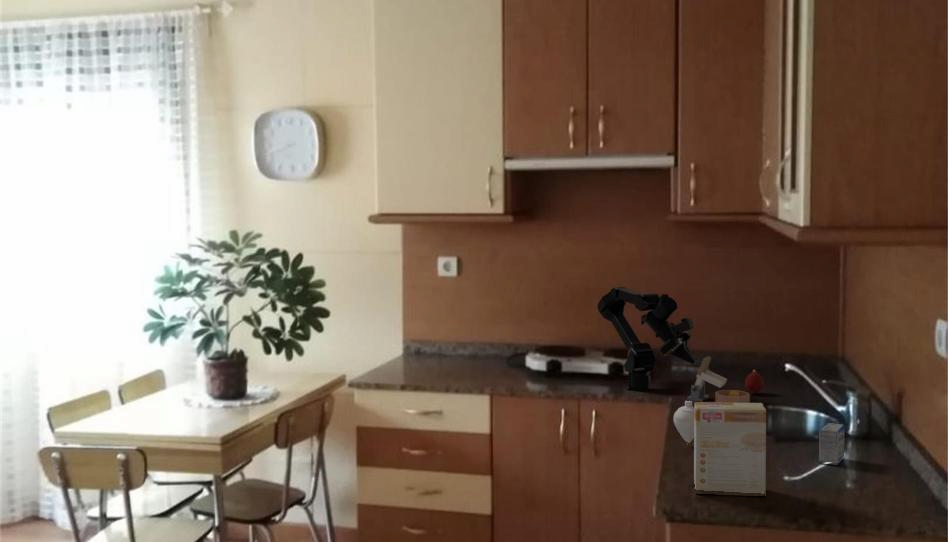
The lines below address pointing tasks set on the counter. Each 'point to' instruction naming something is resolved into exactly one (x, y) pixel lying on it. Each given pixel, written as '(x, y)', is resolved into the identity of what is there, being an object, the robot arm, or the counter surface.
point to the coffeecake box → (730, 447)
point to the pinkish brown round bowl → (732, 397)
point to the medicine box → (831, 443)
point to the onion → (754, 382)
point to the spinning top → (685, 421)
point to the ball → (734, 393)
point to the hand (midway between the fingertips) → (694, 362)
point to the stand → (697, 393)
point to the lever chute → (708, 375)
